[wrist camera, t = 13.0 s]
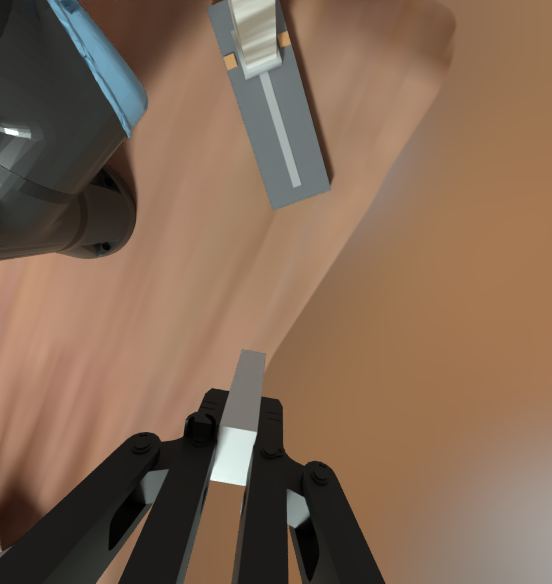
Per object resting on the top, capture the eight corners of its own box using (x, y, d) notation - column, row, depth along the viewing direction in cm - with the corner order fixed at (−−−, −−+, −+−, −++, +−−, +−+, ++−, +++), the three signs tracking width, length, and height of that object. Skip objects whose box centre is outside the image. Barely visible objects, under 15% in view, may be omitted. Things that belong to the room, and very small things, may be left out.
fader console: (328, 190, 42) (331, 189, 40) (273, 210, 43) (272, 210, 41) (273, -9, 36) (273, -24, 34) (210, 19, 37) (205, 6, 35)
